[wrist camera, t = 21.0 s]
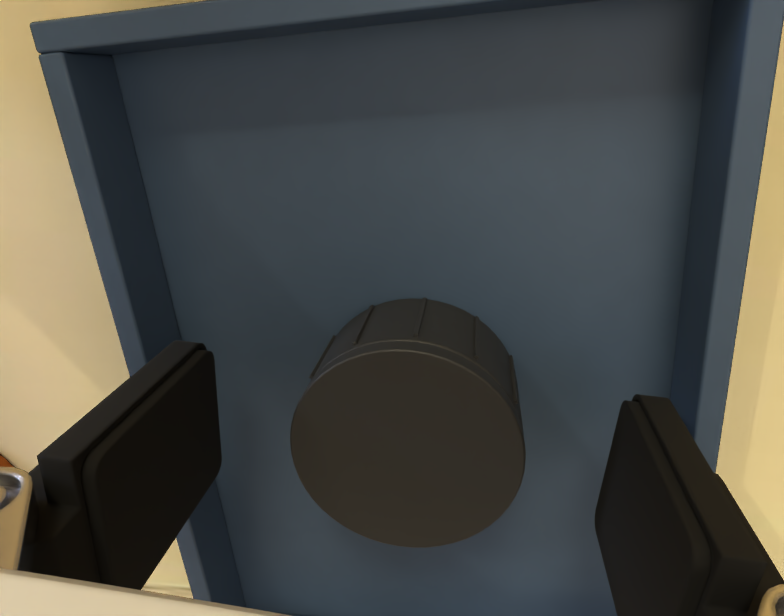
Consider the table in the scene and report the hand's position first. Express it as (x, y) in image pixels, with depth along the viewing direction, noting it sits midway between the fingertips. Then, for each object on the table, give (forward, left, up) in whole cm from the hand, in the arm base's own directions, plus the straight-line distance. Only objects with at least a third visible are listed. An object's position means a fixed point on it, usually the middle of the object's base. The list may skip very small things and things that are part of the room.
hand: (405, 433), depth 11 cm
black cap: (0, 0, 0) cm, 0 cm away
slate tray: (0, 0, -2) cm, 2 cm away
